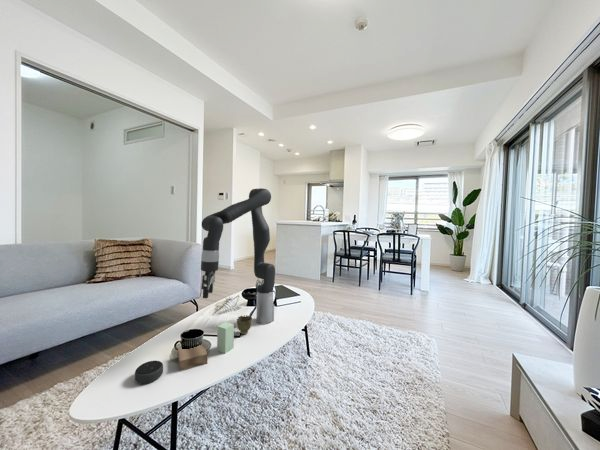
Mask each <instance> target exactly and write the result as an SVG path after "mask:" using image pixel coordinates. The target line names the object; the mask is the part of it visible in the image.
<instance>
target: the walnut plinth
mask: <svg viewBox="0 0 600 450" xmlns="http://www.w3.org/2000/svg"><path fill="white" fill-rule="evenodd" d="M201 343H202V344H201V345H199V346H197V347H194V348H190V349H182V347H178V348H177V362H178V366H179V367H178V368H179V371H180V372H182V371H185V370H189V369H192V368H197V367H200V366H203V365H206V364H207V365H208V351H207V349H206V347H205V344H204V342H201Z"/></svg>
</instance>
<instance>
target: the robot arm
mask: <svg viewBox="0 0 600 450" xmlns="http://www.w3.org/2000/svg"><path fill="white" fill-rule="evenodd" d="M271 199H272V193H271V192H270V190H269V189H268V188H267V189H266V188H253V189H251V190H250V191H249V194H248V198H247V199H245V200H241V201H238V202H236V203H235V202H234V203H233V204H231V205H229V206H227V207H226V208H224V209H222V210H219V211H217V212H214V213H212V214H209V215H207V216H206V217H204V218H203V219H202V221H201V227H202V229H203V230H204V231H206V232H207V234H206V235H207V236H206V237H204V238H203V241H202V252H201V261H200V270H201V271H202V272H204V275H202V278H201V279H202V280H201V281H202V282H201V290H202V298H203V299H208V298H209V294H212V293H213V292H214V291H213V290H214V284H215V281H216V280H215V279H216V272H217V271H218V270H219V261H220V260H219V259H220V241H221V238H222V234H223V231H224V225H226V224H230V223H232V222H233V221H236V220H237V219H238V218H240V217H242V216H243V215H246V214H248V213H249V212H250V214H251V223H252V238H253V239H252V240H253V255H254V257H253V258H254V259H253V272H254V276H255V278H257V279H261V280H263V283H261V284H259V285H258V284H257V286H256V315H255V317H256V322H257V324H261V325H266V324H267V325H268V324H271V323H272V322H273V321H275V304H274V287H275V280H276V266H275V265H274V264H273V263H269V262H265V253H266V252H265V251H266V250H267V249H268V246H269V244H270V240H271V237H270V235H271V234H270V233H271V232H270V227H269V225H268V223H267V220H266V218H265V217H264V214H263V206H266V205H268V204H269V203H270V202H271Z"/></svg>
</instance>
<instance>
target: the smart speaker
mask: <svg viewBox="0 0 600 450" xmlns="http://www.w3.org/2000/svg"><path fill="white" fill-rule="evenodd" d="M134 371H135V372H134V381H135V382H136V383H137V384H140V385H147V384H150V383H154V382H155V381H157V380H158V379H160V377H162V375H163V374H164V363H163V362H162V361H160V360H150V361H146V362H144V363H142V364H140V365H139V366H138V367H137V368H136V369H135V370H134Z"/></svg>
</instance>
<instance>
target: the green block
mask: <svg viewBox="0 0 600 450" xmlns="http://www.w3.org/2000/svg"><path fill="white" fill-rule="evenodd" d="M216 328H217V330H216V331H217V332H216V333H217V335H216V339H217V341H216V351H218V352H220V353H222V354H227V353H229V352H230V351H232V350H234V345H235V344H234V343H235V341H234V340H235V336H234V335H235V334H234V333H235V331H234V330H235V324H234V323H231V322H228V321H225V322H222V323H221V324H219V325H217V327H216Z"/></svg>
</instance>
